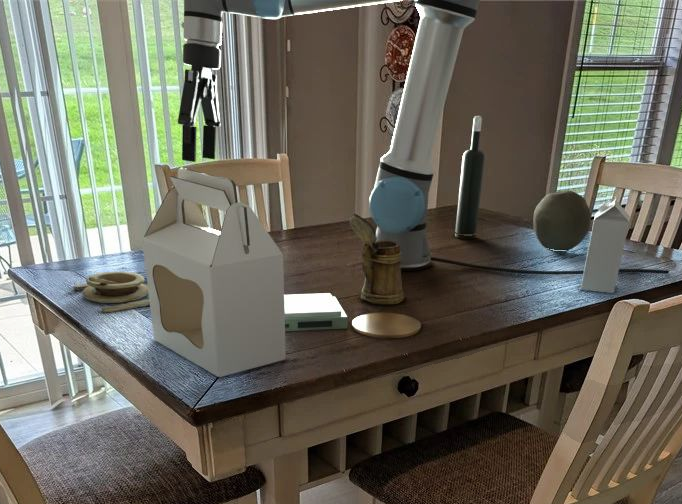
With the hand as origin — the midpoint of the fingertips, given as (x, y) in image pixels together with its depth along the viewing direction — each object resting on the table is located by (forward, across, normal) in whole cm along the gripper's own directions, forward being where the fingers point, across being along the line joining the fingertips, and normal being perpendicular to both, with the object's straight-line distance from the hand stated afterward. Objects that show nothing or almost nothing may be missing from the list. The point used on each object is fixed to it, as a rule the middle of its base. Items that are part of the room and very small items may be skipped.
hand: (199, 159), depth 157 cm
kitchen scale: (+23, +28, +31) cm, 48 cm away
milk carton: (+15, -6, +91) cm, 92 cm away
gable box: (+26, +48, +20) cm, 58 cm away
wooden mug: (+21, +14, +43) cm, 50 cm away
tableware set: (+25, +16, -4) cm, 30 cm away
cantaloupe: (+13, -38, +84) cm, 93 cm away
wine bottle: (+14, -50, +61) cm, 80 cm away
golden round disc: (+22, +30, +47) cm, 60 cm away
